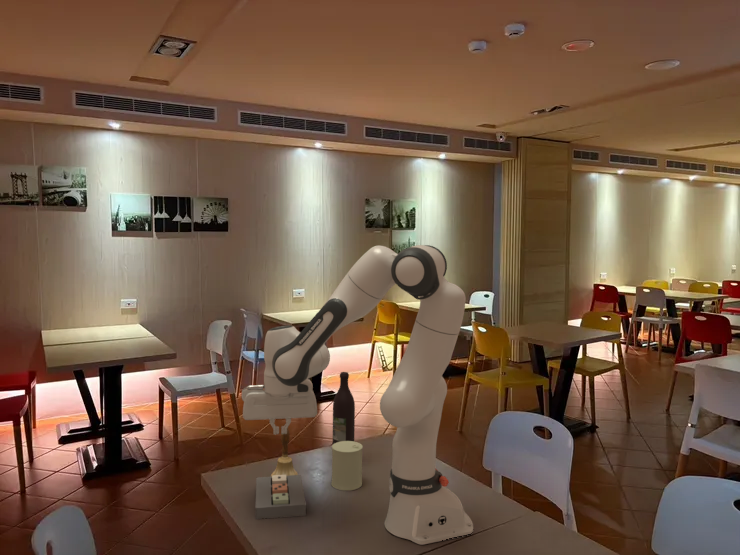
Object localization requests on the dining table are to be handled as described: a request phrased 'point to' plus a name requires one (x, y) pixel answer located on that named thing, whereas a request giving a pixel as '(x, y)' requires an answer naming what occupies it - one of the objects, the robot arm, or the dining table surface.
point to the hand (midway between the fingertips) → (280, 433)
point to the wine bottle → (343, 412)
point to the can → (347, 465)
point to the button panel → (291, 509)
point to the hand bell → (284, 459)
